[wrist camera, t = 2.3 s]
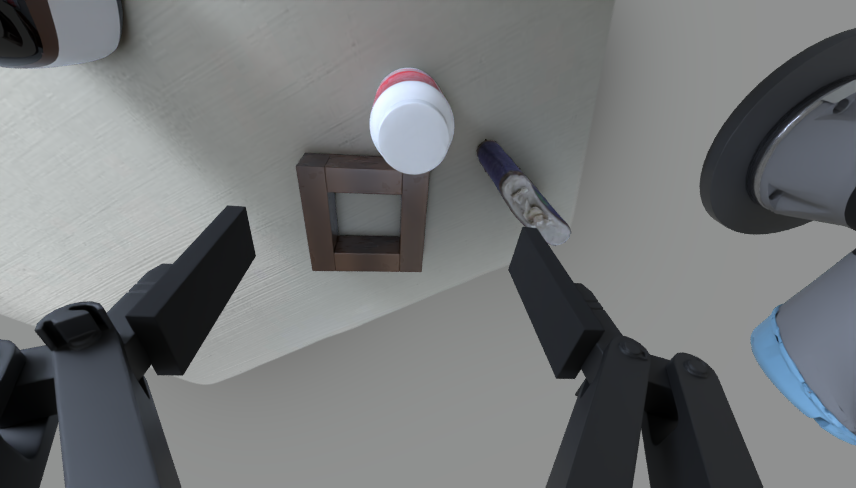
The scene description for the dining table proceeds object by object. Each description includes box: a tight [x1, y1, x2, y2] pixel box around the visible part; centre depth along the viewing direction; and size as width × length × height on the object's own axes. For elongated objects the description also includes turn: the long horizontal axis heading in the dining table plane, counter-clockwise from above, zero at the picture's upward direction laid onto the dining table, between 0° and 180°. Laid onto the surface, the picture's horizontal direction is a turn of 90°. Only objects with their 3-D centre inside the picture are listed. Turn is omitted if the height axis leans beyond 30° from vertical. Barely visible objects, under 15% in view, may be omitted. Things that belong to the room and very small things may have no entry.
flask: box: [477, 139, 571, 246], centre depth 30 cm, size 9×3×11 cm, turn 44°
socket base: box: [296, 153, 430, 272], centre depth 34 cm, size 12×12×4 cm
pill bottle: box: [370, 68, 455, 175], centre depth 25 cm, size 6×6×11 cm
